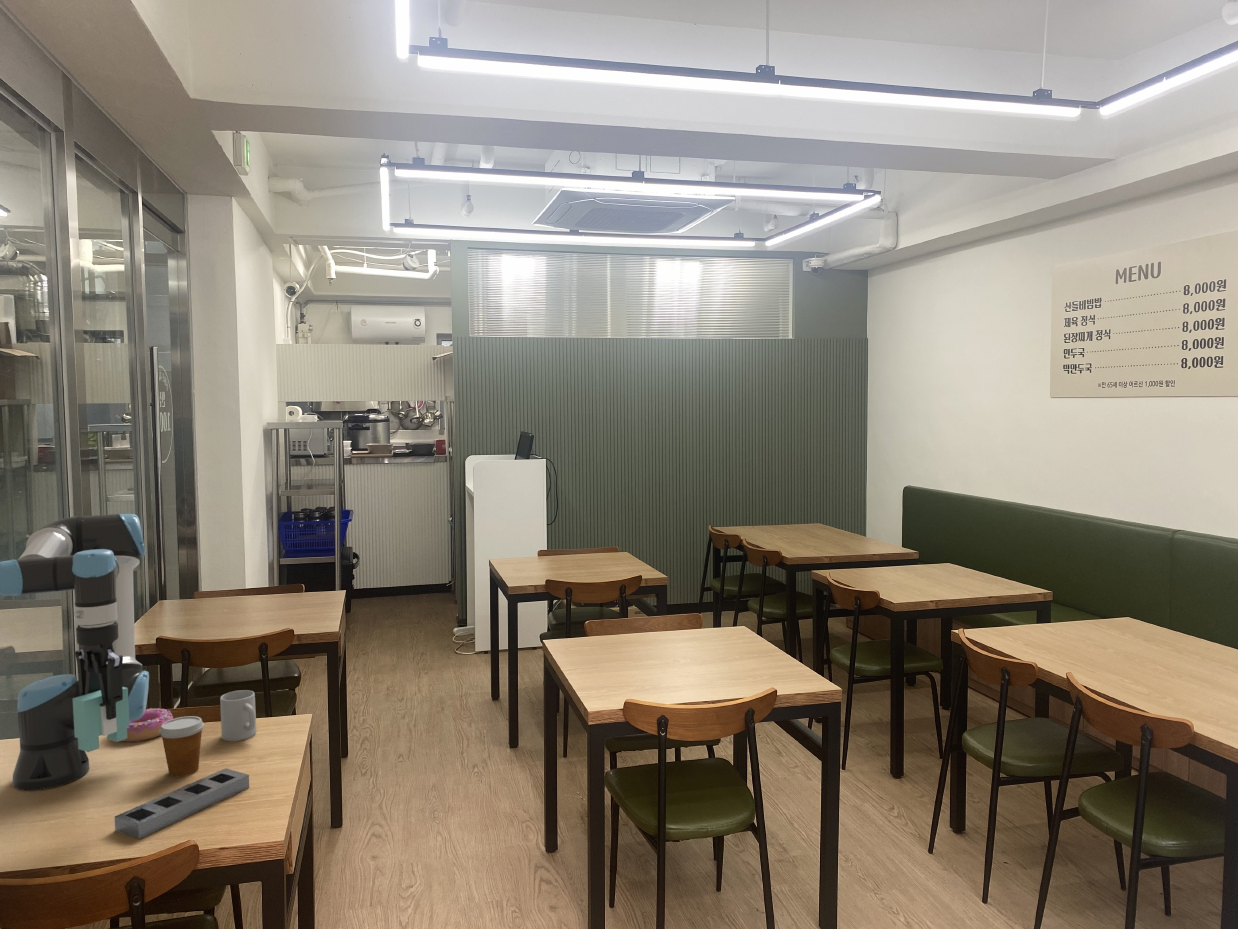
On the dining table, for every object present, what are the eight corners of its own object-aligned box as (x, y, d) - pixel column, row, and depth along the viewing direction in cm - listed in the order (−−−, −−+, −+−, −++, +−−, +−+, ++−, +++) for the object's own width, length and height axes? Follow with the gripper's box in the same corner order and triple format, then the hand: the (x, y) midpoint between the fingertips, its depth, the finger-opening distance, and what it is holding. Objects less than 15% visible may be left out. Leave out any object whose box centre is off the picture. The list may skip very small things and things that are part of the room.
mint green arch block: (75, 749, 174) (72, 698, 174) (119, 734, 182) (116, 685, 182) (86, 753, 172) (83, 701, 172) (130, 737, 180) (127, 688, 180)
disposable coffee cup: (187, 781, 195) (184, 731, 194) (152, 778, 197) (149, 728, 196) (214, 764, 204) (212, 716, 203) (180, 761, 206) (178, 714, 205)
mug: (215, 736, 222) (213, 696, 221) (246, 727, 229) (244, 687, 228) (238, 747, 215) (236, 705, 214) (269, 736, 222) (268, 696, 221)
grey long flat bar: (115, 830, 172) (114, 816, 172) (226, 780, 195) (225, 768, 195) (139, 839, 168) (138, 825, 168) (249, 787, 191) (248, 774, 191)
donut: (185, 727, 230) (184, 709, 229) (139, 747, 216) (138, 728, 216) (147, 721, 235) (146, 704, 235) (100, 740, 221) (99, 721, 221)
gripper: (55, 623, 176) (61, 731, 178) (102, 632, 168) (108, 745, 170) (91, 615, 183) (97, 719, 185) (139, 623, 175) (144, 732, 177)
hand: (102, 731), depth 177 cm, fingers closed on mint green arch block, 4 cm apart
